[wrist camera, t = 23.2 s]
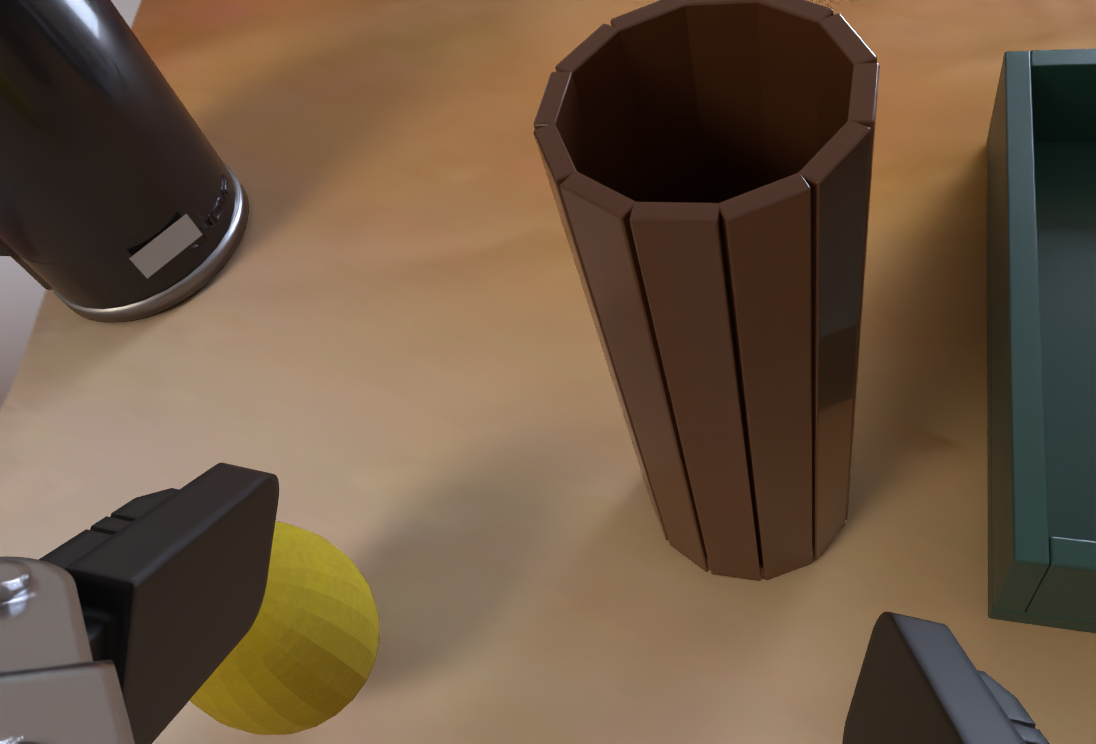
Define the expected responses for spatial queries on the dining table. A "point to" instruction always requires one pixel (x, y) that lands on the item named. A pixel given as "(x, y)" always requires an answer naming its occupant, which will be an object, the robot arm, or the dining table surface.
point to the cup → (724, 259)
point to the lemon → (298, 642)
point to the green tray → (1042, 340)
